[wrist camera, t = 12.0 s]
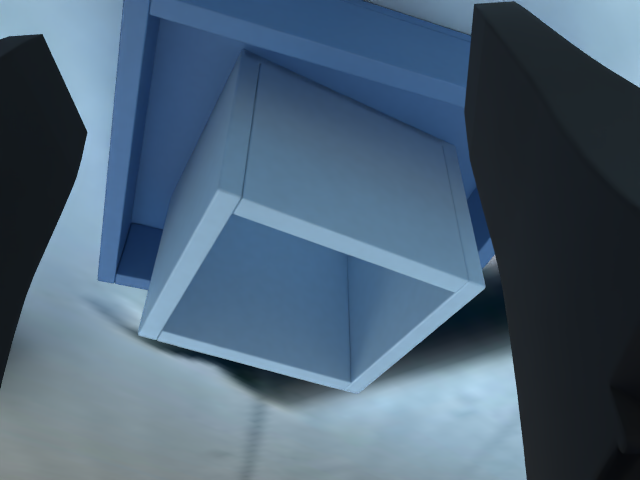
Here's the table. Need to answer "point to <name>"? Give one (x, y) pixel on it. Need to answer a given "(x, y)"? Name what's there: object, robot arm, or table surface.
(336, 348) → the pale blue bin
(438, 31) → the steel blue bin
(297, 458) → the table surface
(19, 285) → the robot arm
